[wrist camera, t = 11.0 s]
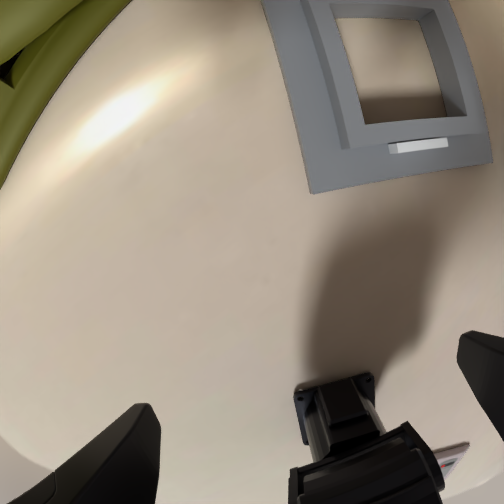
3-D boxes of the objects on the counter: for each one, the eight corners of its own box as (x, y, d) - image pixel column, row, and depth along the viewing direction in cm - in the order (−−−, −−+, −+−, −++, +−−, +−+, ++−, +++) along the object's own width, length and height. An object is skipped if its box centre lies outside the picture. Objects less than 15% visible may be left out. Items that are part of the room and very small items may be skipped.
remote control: (454, 470, 30) (462, 483, 27) (358, 492, 29) (364, 510, 26) (476, 438, 28) (486, 451, 25) (377, 460, 27) (386, 479, 24)
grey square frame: (486, 162, 19) (506, 163, 17) (310, 193, 19) (319, 196, 17) (436, -11, 15) (451, -22, 13) (255, -15, 16) (257, -34, 13)
